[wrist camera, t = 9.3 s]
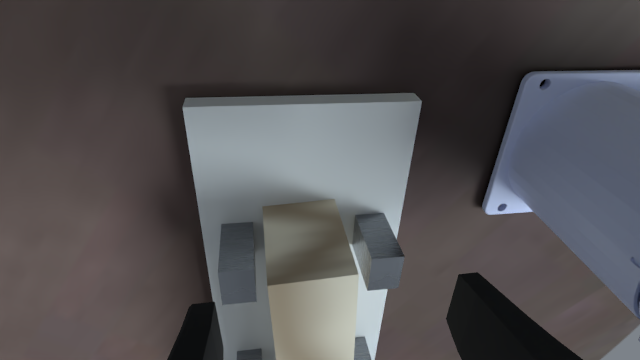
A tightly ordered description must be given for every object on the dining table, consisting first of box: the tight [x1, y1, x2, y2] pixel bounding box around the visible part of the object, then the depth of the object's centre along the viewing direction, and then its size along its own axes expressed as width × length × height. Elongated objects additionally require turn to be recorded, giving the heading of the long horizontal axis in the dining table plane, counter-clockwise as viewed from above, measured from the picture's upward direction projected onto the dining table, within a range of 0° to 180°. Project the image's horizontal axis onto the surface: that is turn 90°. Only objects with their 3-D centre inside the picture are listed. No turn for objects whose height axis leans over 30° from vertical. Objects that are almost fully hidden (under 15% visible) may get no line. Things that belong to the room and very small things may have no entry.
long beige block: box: [262, 199, 359, 360], centre depth 21 cm, size 4×14×5 cm, turn 1°
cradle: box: [182, 93, 422, 360], centre depth 22 cm, size 10×24×4 cm, turn 178°
